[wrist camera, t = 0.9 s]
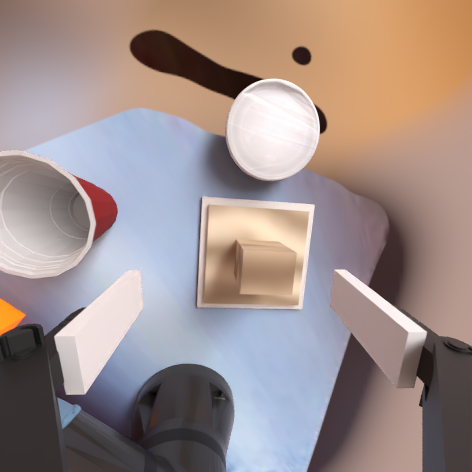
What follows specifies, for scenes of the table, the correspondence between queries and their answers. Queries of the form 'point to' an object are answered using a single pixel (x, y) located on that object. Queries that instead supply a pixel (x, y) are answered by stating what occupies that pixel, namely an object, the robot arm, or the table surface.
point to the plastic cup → (47, 216)
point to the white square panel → (255, 204)
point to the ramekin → (272, 129)
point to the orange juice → (9, 317)
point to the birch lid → (254, 255)
